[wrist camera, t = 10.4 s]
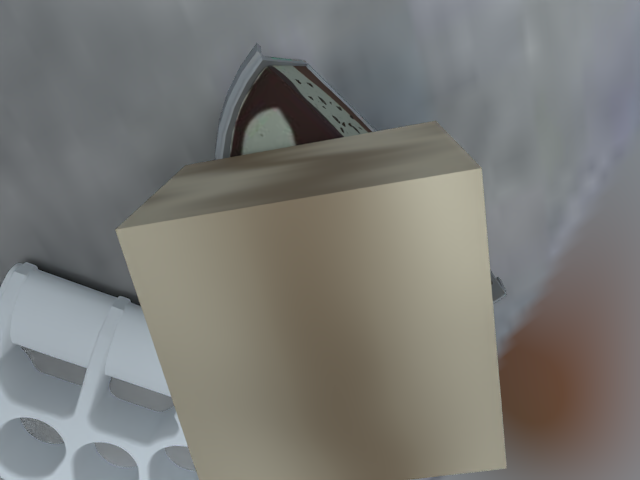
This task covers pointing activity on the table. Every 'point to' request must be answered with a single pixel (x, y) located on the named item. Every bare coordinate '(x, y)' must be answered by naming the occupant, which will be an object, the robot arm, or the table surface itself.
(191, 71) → the table surface
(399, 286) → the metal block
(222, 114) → the food container
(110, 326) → the white brass knuckles
